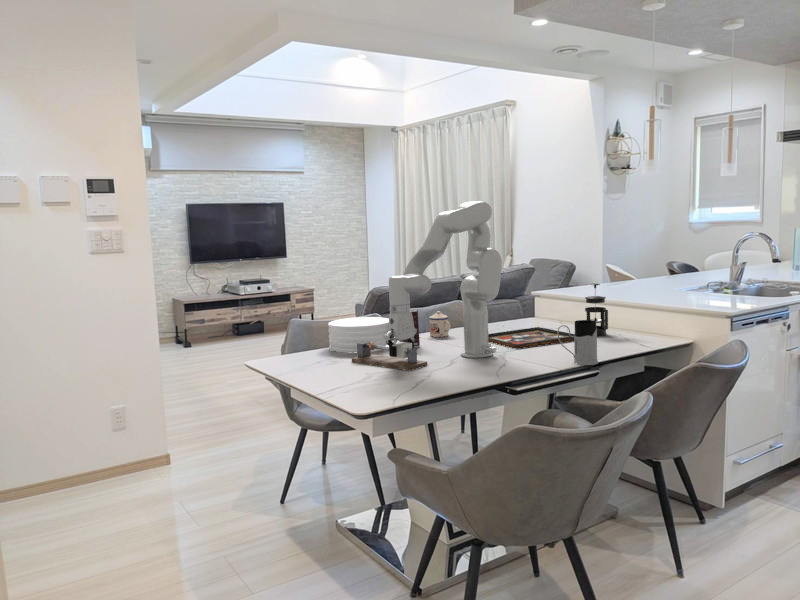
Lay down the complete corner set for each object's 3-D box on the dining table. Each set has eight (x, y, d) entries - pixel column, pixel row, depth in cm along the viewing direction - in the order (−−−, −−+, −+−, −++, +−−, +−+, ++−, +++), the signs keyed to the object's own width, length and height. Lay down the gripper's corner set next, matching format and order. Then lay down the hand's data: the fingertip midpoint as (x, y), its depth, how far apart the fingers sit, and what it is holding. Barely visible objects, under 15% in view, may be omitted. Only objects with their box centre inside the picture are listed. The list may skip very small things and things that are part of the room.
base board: (427, 365, 235) (427, 361, 235) (410, 370, 228) (409, 366, 228) (369, 357, 255) (369, 353, 255) (351, 361, 248) (351, 358, 247)
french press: (579, 334, 287) (578, 283, 284) (593, 331, 292) (593, 282, 289) (599, 337, 277) (598, 285, 274) (614, 335, 282) (613, 283, 279)
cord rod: (418, 362, 234) (417, 346, 234) (410, 364, 231) (410, 348, 230) (365, 355, 252) (364, 340, 252) (357, 357, 249) (356, 342, 248)
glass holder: (599, 365, 224) (599, 323, 222) (558, 365, 226) (558, 323, 225) (596, 359, 232) (596, 319, 231) (557, 360, 235) (556, 320, 233)
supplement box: (420, 345, 276) (418, 309, 274) (419, 348, 271) (417, 311, 269) (400, 346, 276) (398, 310, 275) (399, 348, 272) (397, 311, 270)
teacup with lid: (425, 336, 300) (424, 311, 299) (439, 333, 306) (438, 309, 305) (443, 338, 291) (442, 313, 290) (457, 335, 297) (456, 311, 295)
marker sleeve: (412, 356, 236) (411, 342, 236) (403, 358, 233) (403, 345, 232) (400, 354, 240) (399, 341, 240) (391, 356, 236) (391, 343, 236)
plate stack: (319, 346, 285) (318, 321, 284) (375, 339, 299) (373, 315, 297) (345, 356, 261) (344, 328, 259) (404, 347, 274) (403, 321, 273)
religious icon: (532, 330, 305) (531, 324, 305) (588, 340, 275) (588, 333, 275) (469, 341, 285) (469, 335, 285) (523, 353, 256) (523, 346, 255)
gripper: (391, 312, 225) (394, 359, 227) (422, 306, 238) (424, 351, 240) (376, 311, 230) (378, 357, 232) (407, 305, 243) (409, 349, 245)
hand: (401, 354), depth 236 cm, fingers open, 9 cm apart
